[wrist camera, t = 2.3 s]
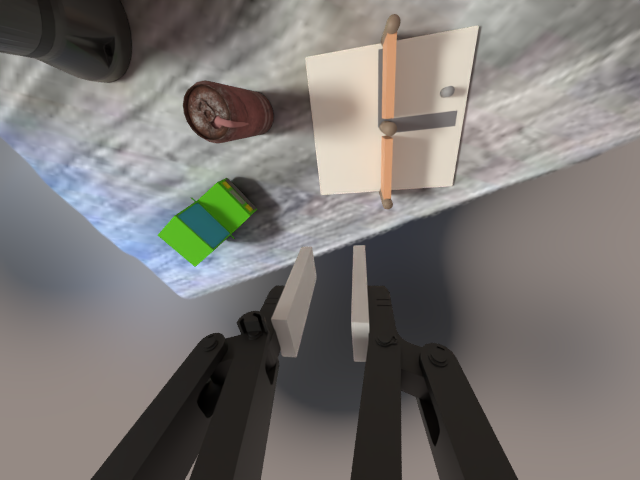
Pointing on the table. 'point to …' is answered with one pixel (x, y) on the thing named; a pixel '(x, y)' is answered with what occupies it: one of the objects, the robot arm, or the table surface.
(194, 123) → the can
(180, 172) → the table surface
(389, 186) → the panel
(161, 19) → the table surface
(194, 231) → the toy car
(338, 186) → the card
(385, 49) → the fixed panel
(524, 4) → the table surface
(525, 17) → the table surface
